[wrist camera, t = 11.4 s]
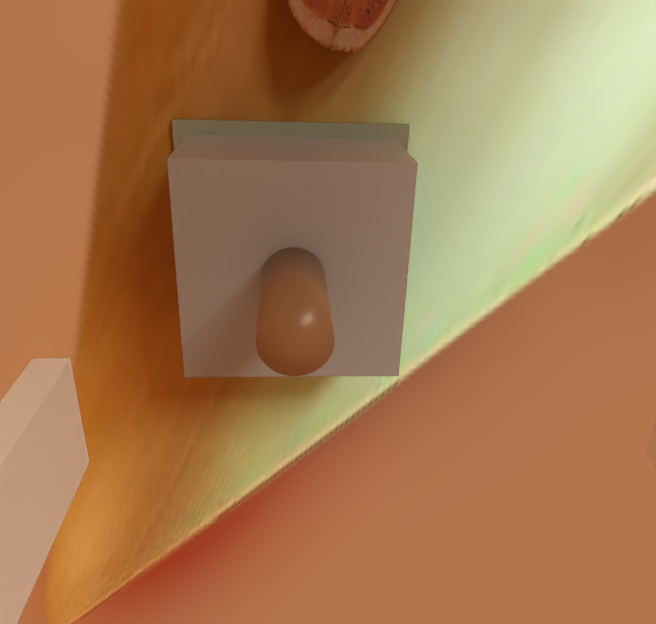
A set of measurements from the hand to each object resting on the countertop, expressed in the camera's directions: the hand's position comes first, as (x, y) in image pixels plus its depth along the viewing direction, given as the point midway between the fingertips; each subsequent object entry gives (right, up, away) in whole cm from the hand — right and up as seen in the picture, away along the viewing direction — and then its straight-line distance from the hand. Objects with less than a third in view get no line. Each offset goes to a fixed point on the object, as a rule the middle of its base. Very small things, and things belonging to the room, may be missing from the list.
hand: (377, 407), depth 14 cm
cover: (-4, +7, +29) cm, 30 cm away
